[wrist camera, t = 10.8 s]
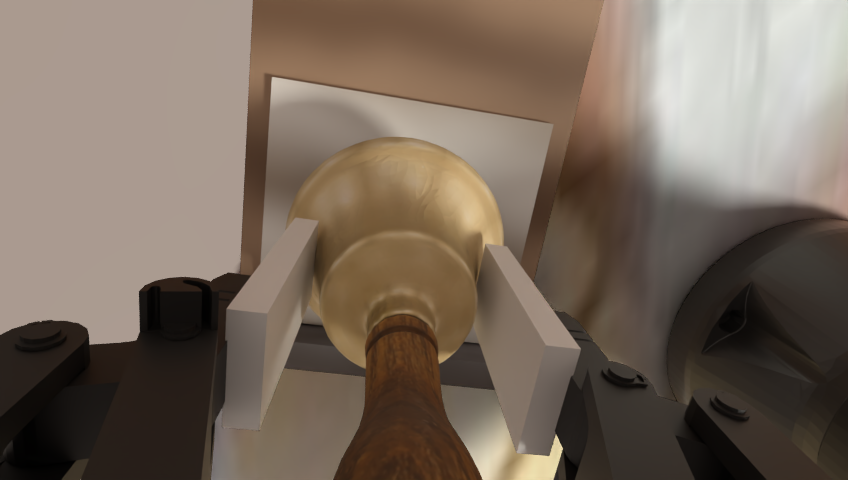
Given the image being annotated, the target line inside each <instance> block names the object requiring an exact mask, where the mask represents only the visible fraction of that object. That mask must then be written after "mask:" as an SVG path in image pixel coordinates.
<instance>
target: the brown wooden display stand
mask: <svg viewBox="0 0 848 480" xmlns="http://www.w3.org/2000/svg"><path fill="white" fill-rule="evenodd" d="M603 2H604V0H253V13H252V34H251V54H250V75H249V96H248V117H247V139H246V159H245V180H244V181H245V182H244V202H243V223H242V244H241V264H240V274H243V275H252V274H253V273H254V272H255V270H256V269H257V268H258V266H259V265H260V264H261V262H262V261H263V260H264V258H265V257H266V256H267V254H268V253H269V252H270V250H271V249H272V248H273V246H274V245H275V244H276V243H277V241H278V240H279V239H280V237H281V236H282V235H283V233H284V232H285V229H286V223H287V218H288V214H289V211H290V208H291V206H292V203H293V201H294V199H295V196H296V194H297V193H298V191H299V189H300V188H301V186H302V185H303V183H304V182H305V180H306V179H307V178H308V177H309V175H310V174H311V173H312V172H313V171H314V170H315V169H316V168H317V167H319V166H320V165H321V164H322V163H323V162H324V161H325V160H327V159H328V158H330V157H331V156H333V155H334V154H336V153H337V152H339V151H341V150H343V149H345V148H347V147H350V146H352V145H355V144H357V143H360V142H363V141H366V140H371V139H376V138H382V137H406V138H415V139H419V140H424V141H427V142H430V143H433V144H436V145H438V146H441V147H443V148H445V149H447V150H448V151H451V152H452V153H454V154H455V155H457V156H459V157H461V158H462V159H463V160H464V161H466V162H467V163H468V164H469V165H470V166H472V167H473V168H474V169H475V170H476V171H477V173H478V174H479V175H480V176H481V178H482V179H483V180H484V181H485V183H486V184H487V186H488V187H489V189H490V191H491V192H492V194H493V196H494V198H495V200H496V202H497V205H498V208H499V211H500V215H501V219H502V225H503V232H504V246H507V247H508V249H509V250H510V251H511V253H512V254H513V256H514V257H515V258H516V260H517V261H518V262H519V264H520V265H521V267H522V268H523V269H524V271H525V272H526V274H527V275H528V276H529V278H530V279H531V280H532V282H534V278H535V274H536V270H537V266H538V262H539V258H540V254H541V250H542V246H543V242H544V238H545V234H546V230H547V226H548V222H549V218H550V214H551V210H552V206H553V202H554V198H555V194H556V190H557V186H558V182H559V178H560V174H561V170H562V166H563V162H564V158H565V154H566V150H567V146H568V142H569V138H570V134H571V130H572V126H573V122H574V118H575V114H576V110H577V106H578V102H579V98H580V94H581V90H582V86H583V82H584V78H585V74H586V70H587V66H588V62H589V58H590V54H591V50H592V46H593V42H594V38H595V34H596V30H597V26H598V22H599V18H600V14H601V10H602V6H603ZM284 368H287V369H297V370H306V371H316V372H326V373H335V374H345V375H355V376H365V377H366V369H365V368H362V367H360V366H358V365H357V364H355V363H353V362H351V361H350V360H349V359H347V358H346V357H345V356H344V355H343V354H342V353H340V352H339V350H338V349H337V348H336V347H335V346H334V344H333V343H332V342H331V340H330V339H329V337H328V335H327V333H326V331H325V328H324V326H323V323H322V320H321V318H320V317H319V316H318V315H317V314H315V313H314V312H313V311H312V309H311V308H310V307H309V306H308V307H307V310H306V312H305V315H304V318H303V320H302V323H301V325H300V328H299V330H298V333H297V336H296V338H295V341H294V343H293V346H292V348H291V351H290V353H289V356H288V359H287V361H286V364H285V366H284ZM439 371H440V384H442V385H452V386H462V387H471V388H481V389H491V390H495V388H494V385H493V382H492V379H491V376H490V373H489V370H488V367H487V364H486V361H485V358H484V355H483V352H482V350H481V347H480V344H479V341H478V338H477V335H476V332H475V329H474V326H473V327H472V329H471V331H470V333H469V334H468V336H467V338H466V339H465V341H464V342H463V344H462V345H461V346H460V347H459V349H458V350H457V351H456V352H455V353H453V354H452V355H451V356H450V357H449V358H447V359H446V360H445V361H443V362H442V363H440V364H439Z"/></svg>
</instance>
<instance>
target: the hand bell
mask: <svg viewBox="0 0 848 480" xmlns="http://www.w3.org/2000/svg"><path fill="white" fill-rule="evenodd" d="M295 218H303V219H310V220H317V221H319V226H318V237H317V246H316V254H315V264H314V277H313V288H312V297H311V300H310V302H309V305H308V306H309V307H310V308H311V309H312V311H313V312H314V313H315V314H317V315H318V316H319V317H320V318H321V320H322V323H323V326H324V328H325V331H326V333H327V335H328V337H329V339H330V340H331V342H332V343H333V344H334V346H335V347H336V348H337V349H338V350H339V352H340V353H342V354H343V355H344V356H345V357H346V358H347V359H349V360H350V361H351V362H353V363H355V364H357V365H358V366H360V367H362V368H365V369H366V382H365V407H364V412H363V416H362V420H361V423H360V426H359V429H358V430H357V432H356V434H355V436H354V438H353V440H352V441H351V443H350V445H349V447H348V449H347V451H346V452H345V454H344V456H343V458H342V460H341V462H340V465H339V467H338V469H337V472H336V474H335V477H334V479H333V480H482V477H481V475H480V473H479V471H478V469H477V467H476V465H475V463H474V461H473V459H472V457H471V455H470V453H469V452H468V450H467V448H466V447H465V445H464V443H463V442H462V440H461V439H460V437H459V436H458V434H457V433H456V431H455V430H454V428H453V427H452V425H451V424H450V422H449V420H448V418H447V416H446V413H445V409H444V405H443V401H442V394H441V385H440V371H439V364H440V363H442V362H443V361H445V360H446V359H447V358H449V357H450V356H451V355H452V354H453V353H455V352H456V351H457V350H458V349H459V347H460V346H461V345H462V344H463V342H464V341H465V339H466V338H467V336H468V334H469V333H470V331H471V329H472V327H473V324H474V322H475V318H476V313H477V301H478V295H477V288H476V285H477V280H478V275H479V271H480V266H481V261H482V257H483V252H484V247H485V243H486V244H493V245H500V246H504V232H503V225H502V219H501V215H500V211H499V208H498V205H497V202H496V200H495V198H494V196H493V194H492V192H491V191H490V189H489V187H488V186H487V184H486V183H485V181H484V180H483V179H482V178H481V176H480V175H479V174H478V173H477V171H476V170H475V169H474V168H473V167H472V166H470V165H469V164H468V163H467V162H466V161H464V160H463V159H462V158H461V157H459V156H457V155H455V154H454V153H452V152H451V151H448V150H447V149H445V148H443V147H441V146H438V145H436V144H433V143H430V142H427V141H424V140H419V139H415V138H406V137H382V138H376V139H371V140H366V141H363V142H360V143H357V144H355V145H352V146H350V147H347V148H345V149H343V150H341V151H339V152H337V153H336V154H334V155H333V156H331V157H330V158H328V159H327V160H325V161H324V162H323V163H322V164H321V165H320V166H319V167H317V168H316V169H315V170H314V171H313V172H312V173H311V174H310V175H309V177H308V178H307V179H306V180H305V182H304V183H303V185H302V186H301V188H300V189H299V191H298V193H297V194H296V196H295V199H294V201H293V203H292V206H291V208H290V211H289V214H288V218H287V223H286V229H287V228H288V227H289V225H290V224H291V223H292V221H293V220H294V219H295ZM286 229H285V231H286Z"/></svg>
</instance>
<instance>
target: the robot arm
mask: <svg viewBox="0 0 848 480" xmlns="http://www.w3.org/2000/svg"><path fill="white" fill-rule="evenodd" d="M318 226H319V221H317V220H310V219H303V218H295V219H294V220H293V221H292V223H291V224H290V225H289V227H288V228H287V229H286V231H285V232H284V233H283V235H282V236H281V237H280V239H279V240H278V241H277V243H276V244H275V245H274V246H273V248H272V249H271V250H270V252H269V253H268V254H267V256H266V257H265V258H264V260H263V261H262V262H261V264H260V265H259V266H258V268H257V269H256V270H255V272H254V273H253V274H252V275H243V274H235V273H227V274H224V275H222V276H220V277H217V278H215V279H213V280H212V281H211V282H210V281H207V280H203V279H199V278H190V277H176V278H167V279H162V280H158V281H154V282H152V283H150V284H147V285H145V286H144V287H143V288H142V289H141V290H140V291H139V310H140V333H139V336H138V338H137V340H136V341H131V342H123V343H110V344H94V345H89V334H88V331H87V329H86V328H85V327H83V326H82V325H80V324H78V323H73V322H68V321H53V320H47V321H42V322H39V321H38V322H33V323H29V324H27V325H24V326H21V327H17V328H14V329H11V330H9V331H7V332H5V333H3V334H2V335H0V480H80V479H81V480H211V471H212V460H213V449H214V433H215V420H216V418H217V416H218V414H219V412H220V410H221V409H222V407H223V410H222V428H233V429H245V430H256V431H260V428H261V425H262V423H263V420H264V418H265V415H266V413H267V410H268V407H269V405H270V402H271V400H272V397H273V395H274V392H275V389H276V387H277V384H278V382H279V379H280V377H281V374H282V371H283V369H284V366H285V364H286V361H287V359H288V356H289V353H290V351H291V348H292V346H293V343H294V341H295V338H296V336H297V333H298V330H299V328H300V325H301V323H302V320H303V318H304V315H305V312H306V310H307V307H308V305H309V302H310V300H311V297H312V288H313V277H314V264H315V254H316V246H317V237H318ZM476 288H477V295H478V301H477V313H476V318H475V322H474V324H473V326H474V329H475V332H476V335H477V338H478V341H479V344H480V347H481V350H482V352H483V355H484V358H485V361H486V364H487V367H488V370H489V373H490V376H491V379H492V382H493V385H494V388H495V391H496V394H497V397H498V400H499V403H500V406H501V409H502V412H503V415H504V418H505V420H506V423H507V426H508V429H509V432H510V435H511V438H512V441H513V444H514V447H515V450H516V453H522V454H533V455H545V456H549V455H550V452H551V448H552V445H553V442H554V438H555V435H556V434H557V437H558V439H559V441H560V443H561V445H562V447H563V451H562V454H561V457H560V461H559V464H558V467H557V470H556V474H555V477H554V480H848V221H845V220H838V219H809V220H802V221H796V222H792V223H788V224H784V225H781V226H778V227H775V228H772V229H770V230H767V231H765V232H763V233H760V234H758V235H756V236H754V237H752V238H751V239H749V240H747V241H745V242H744V243H742V244H740V245H739V246H737V247H736V248H734V249H733V250H732V251H730V252H729V253H727V254H726V255H725V256H724V257H722V258H721V259H720V260H719V261H718V262H717V263H716V264H714V265H713V266H712V267H711V268H710V269H709V270H708V271H707V272H706V273H705V274H704V275H703V277H702V278H701V279H700V280H699V281H698V283H697V284H696V285H695V286H694V288H693V289H692V290H691V292H690V293H689V295H688V296H687V298H686V300H685V301H684V303H683V305H682V307H681V309H680V311H679V313H678V315H677V317H676V320H675V322H674V325H673V328H672V331H671V334H670V339H669V344H668V350H667V370H668V377H669V382H670V385H671V388H672V391H673V393H674V396H675V398H676V400H677V401H678V402H676V401H672V400H669V399H665V398H662V397H659V396H657V394H656V392H655V390H654V388H653V386H652V384H651V383H650V382H649V380H648V379H647V378H646V377H644V376H643V375H642V374H640V373H639V372H638V371H636V370H634V369H632V368H630V367H628V366H626V365H623V364H620V363H617V362H613V361H609V360H608V359H607V357H606V356H605V355H604V354H603V352H602V351H601V350H600V349H599V347H598V346H597V345H596V344H595V342H593V340H592V339H591V337H590V336H589V335H588V334H586V331H585V330H584V328H583V327H582V326H581V325H580V323H579V322H578V321H576V320H575V319H573V318H572V317H570V316H569V315H568V314H566V313H565V312H558V311H553V310H552V308H551V307H550V305H549V304H548V303H547V301H546V300H545V299H544V297H543V296H542V294H541V293H540V292H539V290H538V289H537V287H536V286H535V285H534V283H533V282H532V280H531V279H530V278H529V276H528V275H527V274H526V272H525V271H524V269H523V268H522V267H521V265H520V264H519V262H518V261H517V260H516V258H515V257H514V256H513V254H512V253H511V251H510V250H509V249H508V247H507V246H500V245H493V244H486V243H485V247H484V252H483V257H482V261H481V266H480V271H479V275H478V280H477V285H476Z"/></svg>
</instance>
